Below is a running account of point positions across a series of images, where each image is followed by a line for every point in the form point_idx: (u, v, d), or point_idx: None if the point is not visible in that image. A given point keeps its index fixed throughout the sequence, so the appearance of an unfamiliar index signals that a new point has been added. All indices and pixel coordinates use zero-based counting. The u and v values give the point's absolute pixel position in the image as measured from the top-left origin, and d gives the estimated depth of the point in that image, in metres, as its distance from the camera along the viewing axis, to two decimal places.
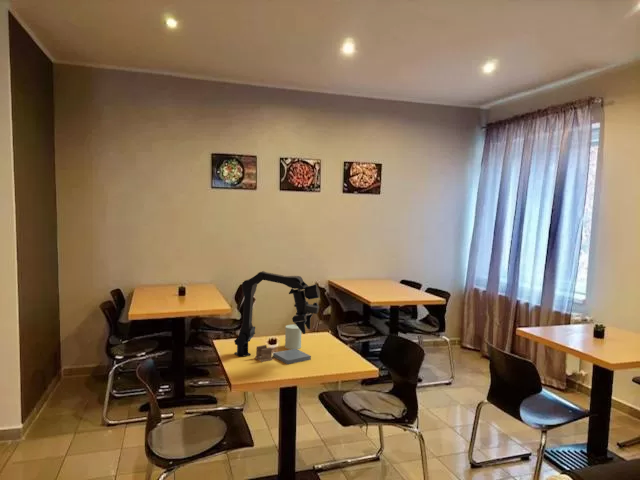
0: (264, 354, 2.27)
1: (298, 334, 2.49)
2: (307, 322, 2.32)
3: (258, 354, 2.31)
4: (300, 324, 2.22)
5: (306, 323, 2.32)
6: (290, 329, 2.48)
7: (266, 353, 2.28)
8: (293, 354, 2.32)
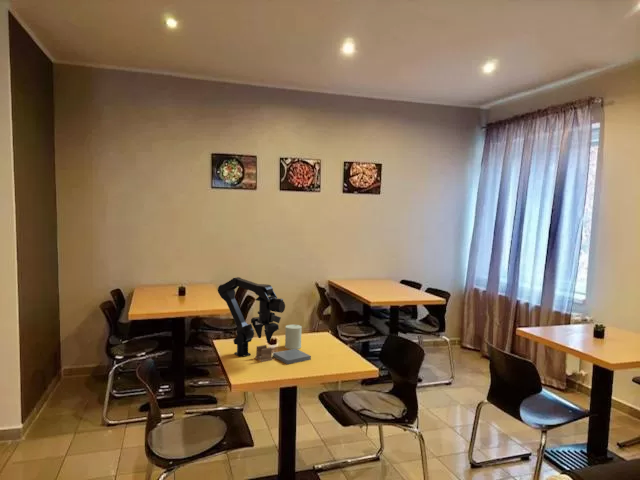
0: (264, 354, 2.27)
1: (298, 334, 2.49)
2: (259, 331, 2.34)
3: (258, 354, 2.31)
4: (269, 333, 2.25)
5: (258, 332, 2.33)
6: (290, 329, 2.48)
7: (266, 353, 2.28)
8: (293, 354, 2.32)
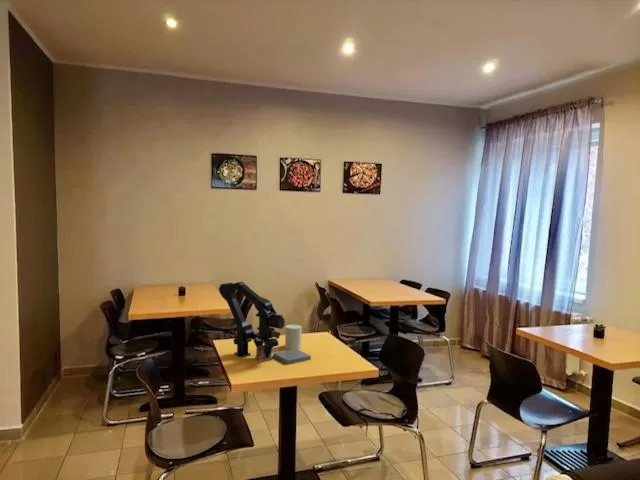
0: (264, 354, 2.27)
1: (298, 334, 2.49)
2: None
3: (258, 354, 2.31)
4: (267, 348, 2.26)
5: None
6: (290, 329, 2.48)
7: None
8: (293, 354, 2.32)
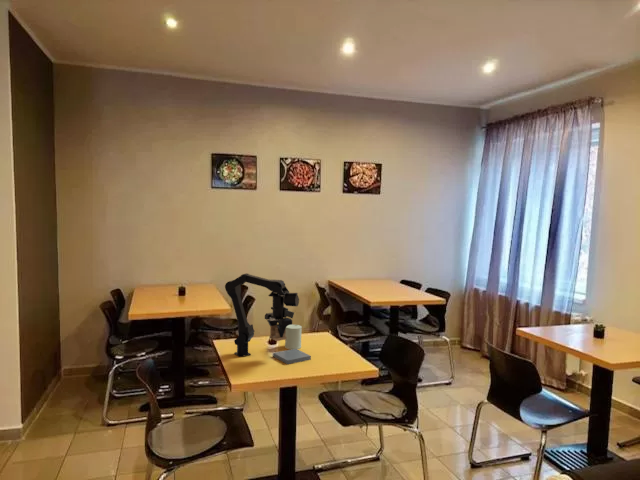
0: (278, 333, 2.27)
1: (298, 334, 2.49)
2: None
3: (272, 333, 2.31)
4: (281, 327, 2.26)
5: None
6: (290, 329, 2.48)
7: None
8: (293, 354, 2.32)
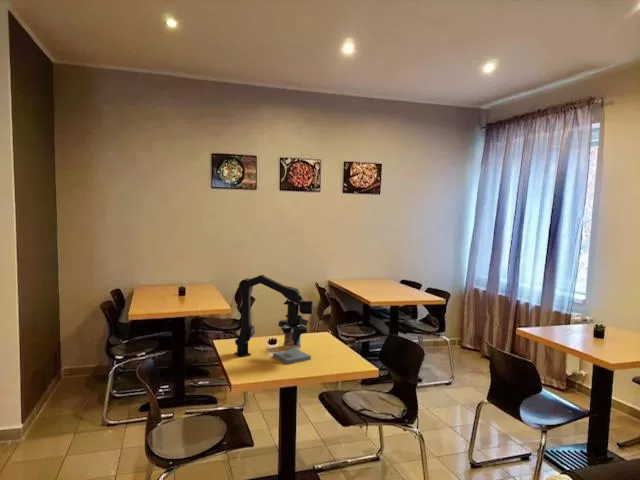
0: (293, 341, 2.29)
1: None
2: None
3: (286, 341, 2.33)
4: (296, 335, 2.29)
5: None
6: None
7: None
8: (293, 354, 2.32)
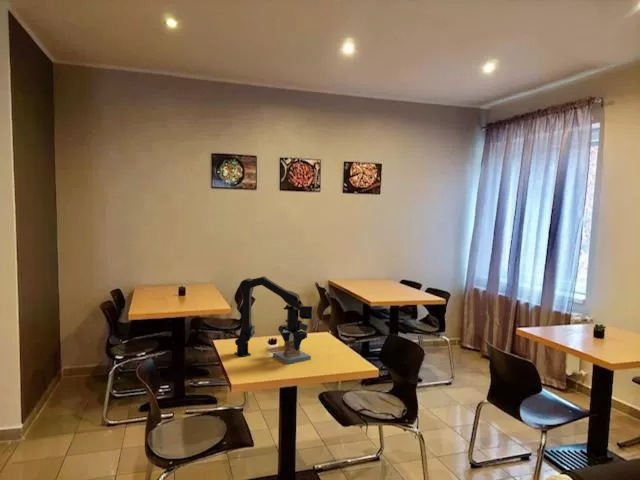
0: (293, 349, 2.30)
1: None
2: (287, 339, 2.37)
3: (286, 349, 2.34)
4: (297, 341, 2.28)
5: (286, 340, 2.36)
6: None
7: None
8: None
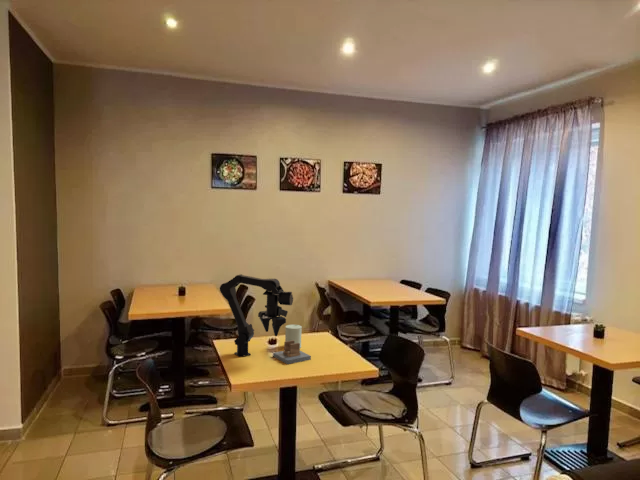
0: (293, 349, 2.30)
1: (298, 334, 2.49)
2: (267, 325, 2.36)
3: (286, 349, 2.34)
4: (276, 326, 2.27)
5: (265, 325, 2.35)
6: (290, 329, 2.48)
7: (295, 348, 2.30)
8: None
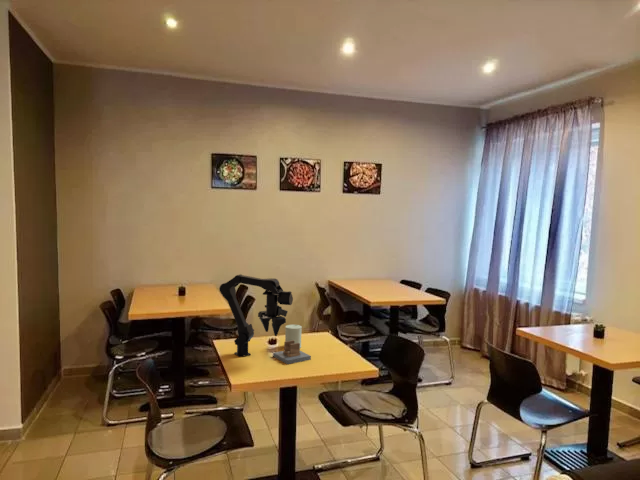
0: (293, 349, 2.30)
1: (298, 334, 2.49)
2: (267, 325, 2.36)
3: (286, 349, 2.34)
4: (276, 326, 2.27)
5: (265, 325, 2.35)
6: (290, 329, 2.48)
7: (295, 348, 2.30)
8: None
